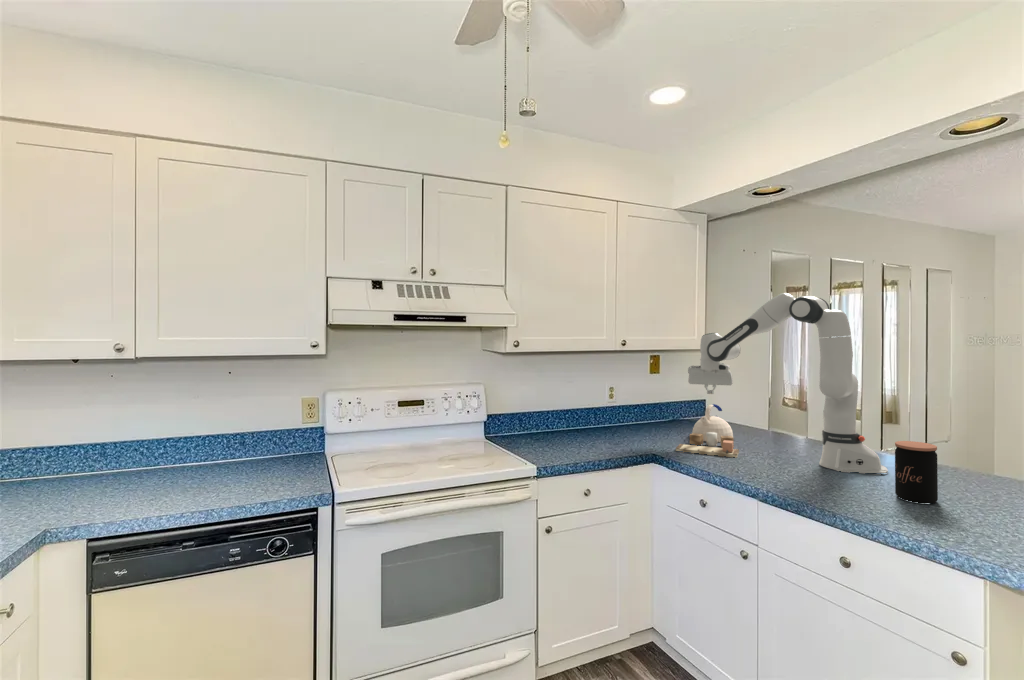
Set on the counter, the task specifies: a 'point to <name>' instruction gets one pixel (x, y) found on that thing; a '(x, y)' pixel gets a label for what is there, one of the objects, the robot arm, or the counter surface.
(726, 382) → the robot arm
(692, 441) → the walnut block
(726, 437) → the walnut block
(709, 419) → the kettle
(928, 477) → the coffee jar
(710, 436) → the grey cylinder
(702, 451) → the counter board
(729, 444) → the counter marker
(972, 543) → the counter surface
